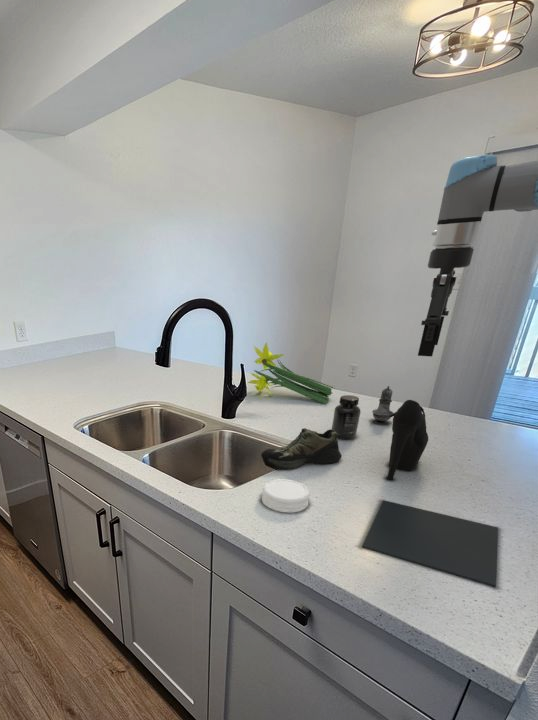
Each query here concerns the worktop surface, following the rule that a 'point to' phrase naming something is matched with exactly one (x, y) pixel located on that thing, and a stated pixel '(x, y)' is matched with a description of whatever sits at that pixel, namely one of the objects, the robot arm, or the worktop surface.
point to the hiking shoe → (304, 451)
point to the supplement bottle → (346, 417)
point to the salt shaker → (383, 408)
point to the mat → (435, 541)
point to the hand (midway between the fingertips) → (427, 350)
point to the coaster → (285, 495)
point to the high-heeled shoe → (407, 438)
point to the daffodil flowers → (266, 358)
